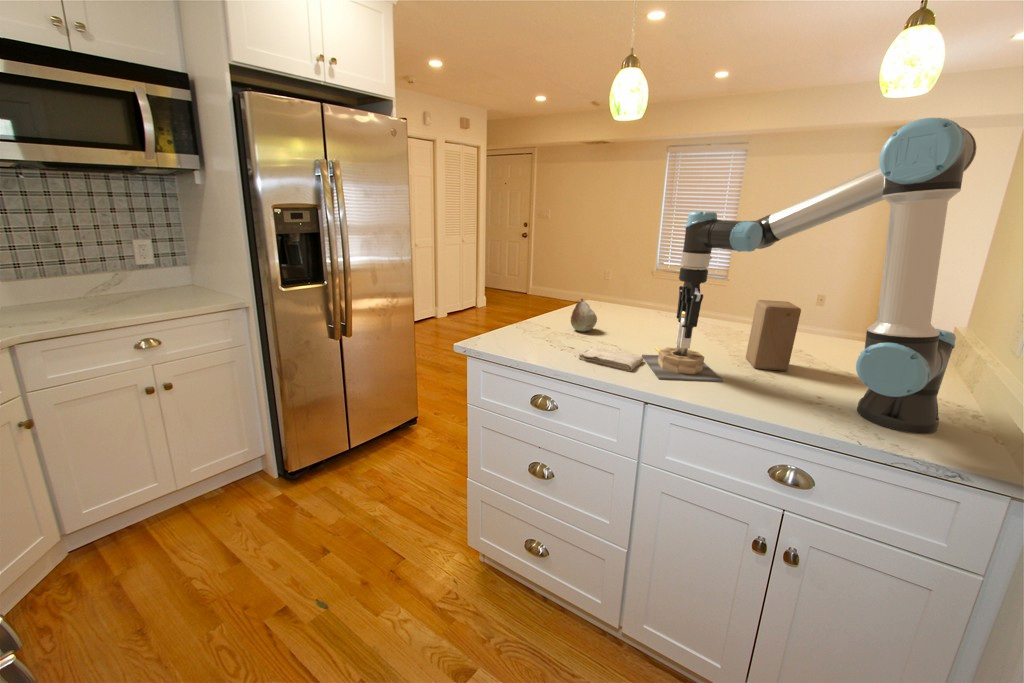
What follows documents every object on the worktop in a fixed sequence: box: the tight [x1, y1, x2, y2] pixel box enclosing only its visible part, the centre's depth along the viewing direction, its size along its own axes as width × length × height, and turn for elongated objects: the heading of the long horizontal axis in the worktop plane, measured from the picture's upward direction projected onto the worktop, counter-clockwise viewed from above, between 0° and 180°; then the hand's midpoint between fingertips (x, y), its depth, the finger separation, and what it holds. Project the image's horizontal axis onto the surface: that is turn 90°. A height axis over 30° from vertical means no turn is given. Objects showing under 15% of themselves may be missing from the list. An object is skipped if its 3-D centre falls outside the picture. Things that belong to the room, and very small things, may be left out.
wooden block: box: [745, 299, 802, 372], centre depth 142 cm, size 10×10×20 cm
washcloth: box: [578, 345, 644, 372], centre depth 144 cm, size 12×18×3 cm, turn 56°
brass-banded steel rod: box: [676, 311, 689, 357], centre depth 137 cm, size 3×3×16 cm
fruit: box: [570, 298, 598, 333], centre depth 175 cm, size 10×9×12 cm
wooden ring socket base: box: [641, 347, 724, 383], centre depth 139 cm, size 20×18×5 cm
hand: (682, 345), depth 137 cm, fingers closed on brass-banded steel rod, 3 cm apart
